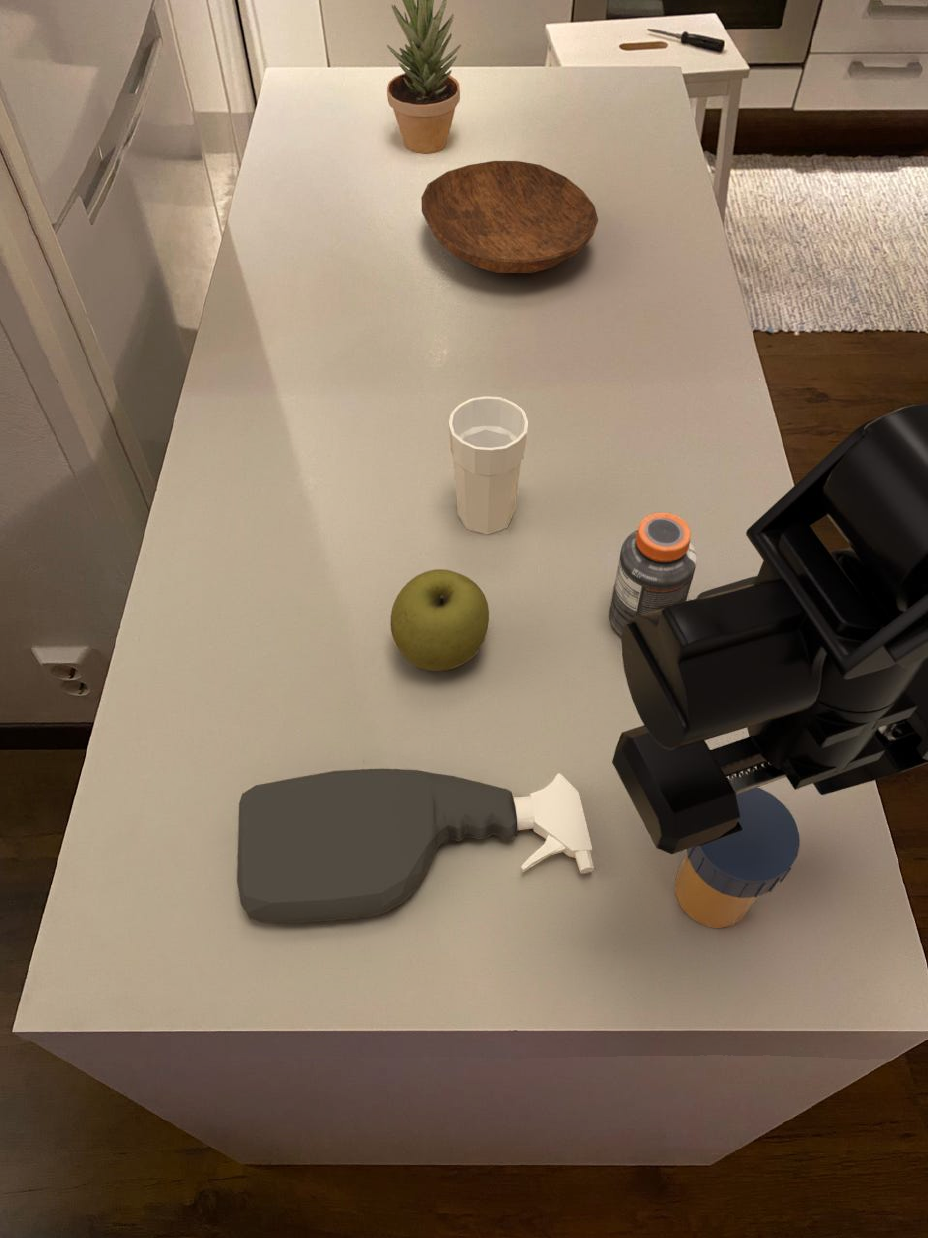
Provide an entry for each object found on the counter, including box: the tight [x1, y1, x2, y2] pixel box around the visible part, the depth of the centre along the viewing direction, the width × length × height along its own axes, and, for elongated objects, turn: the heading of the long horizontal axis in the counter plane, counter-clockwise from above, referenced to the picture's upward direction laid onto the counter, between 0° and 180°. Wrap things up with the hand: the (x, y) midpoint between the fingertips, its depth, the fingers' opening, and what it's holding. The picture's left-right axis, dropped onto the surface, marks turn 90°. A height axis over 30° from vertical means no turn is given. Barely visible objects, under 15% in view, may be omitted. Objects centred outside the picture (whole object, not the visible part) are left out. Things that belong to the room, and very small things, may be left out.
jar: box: [674, 853, 757, 929], centre depth 62 cm, size 5×5×10 cm
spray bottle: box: [236, 768, 595, 923], centre depth 67 cm, size 3×11×24 cm
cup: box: [448, 395, 529, 536], centre depth 83 cm, size 7×7×11 cm
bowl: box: [420, 160, 599, 274], centre depth 112 cm, size 20×22×5 cm
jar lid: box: [685, 787, 801, 899], centre depth 59 cm, size 6×6×3 cm
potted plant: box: [386, 0, 462, 154], centre depth 119 cm, size 10×10×25 cm
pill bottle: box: [608, 511, 698, 639], centre depth 76 cm, size 6×6×11 cm
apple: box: [389, 568, 490, 672], centre depth 76 cm, size 8×8×7 cm
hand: (758, 809), depth 56 cm, fingers open, 8 cm apart
